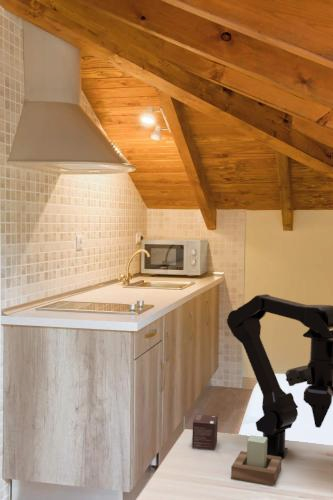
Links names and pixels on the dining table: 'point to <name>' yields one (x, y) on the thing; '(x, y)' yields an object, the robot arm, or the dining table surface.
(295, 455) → the dining table surface
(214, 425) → the box
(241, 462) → the socket block
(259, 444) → the peg
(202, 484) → the dining table surface
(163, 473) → the dining table surface
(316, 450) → the dining table surface
